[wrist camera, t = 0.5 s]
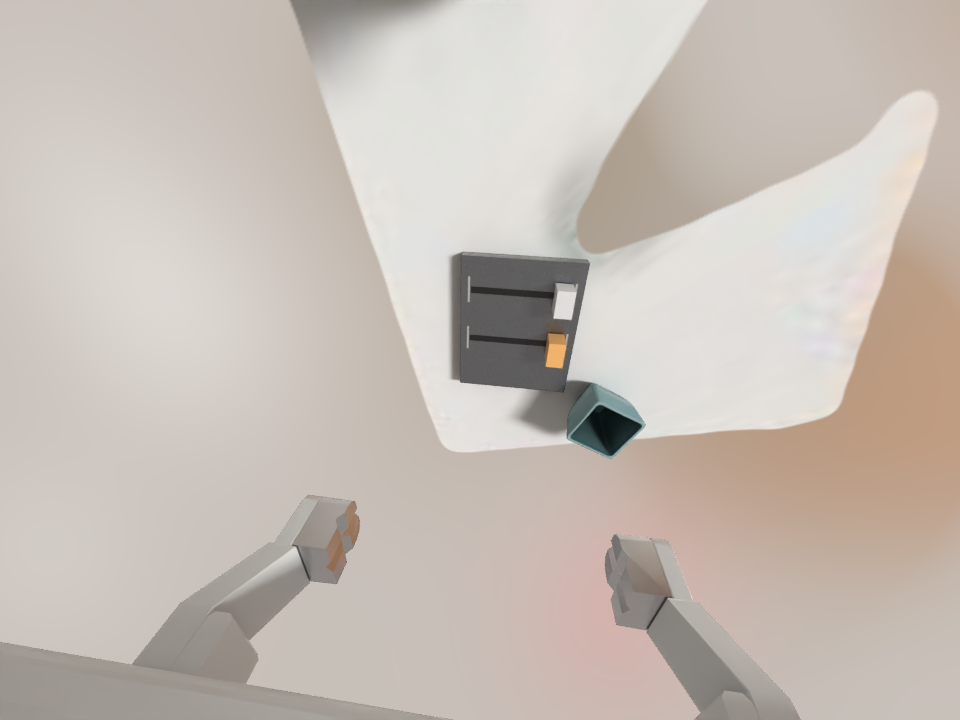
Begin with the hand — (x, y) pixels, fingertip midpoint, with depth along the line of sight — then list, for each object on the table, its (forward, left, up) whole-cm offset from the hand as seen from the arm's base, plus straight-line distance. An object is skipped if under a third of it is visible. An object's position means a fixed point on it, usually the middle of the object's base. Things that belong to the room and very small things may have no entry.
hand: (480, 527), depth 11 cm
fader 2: (+15, +8, -42) cm, 45 cm away
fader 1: (+7, +8, -42) cm, 43 cm away
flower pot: (+26, +17, -45) cm, 54 cm away
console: (+13, +2, -44) cm, 46 cm away
